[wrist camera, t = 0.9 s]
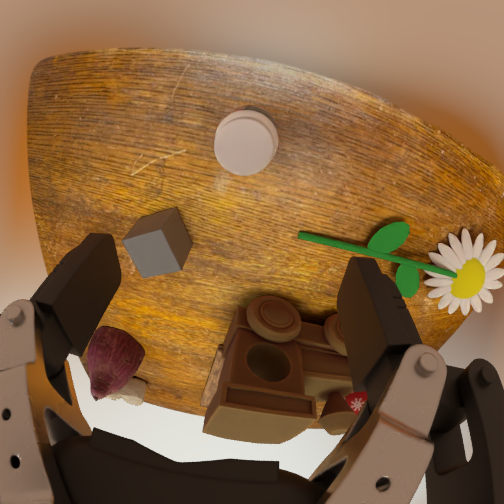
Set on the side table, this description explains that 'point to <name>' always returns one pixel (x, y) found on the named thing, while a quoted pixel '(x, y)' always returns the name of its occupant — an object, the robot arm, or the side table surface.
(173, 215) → the grey block
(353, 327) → the robot arm
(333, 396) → the wooden toy train
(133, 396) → the decorative stone
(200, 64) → the side table surface
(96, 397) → the vegetable
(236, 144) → the pill bottle
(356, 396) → the christmas ornament
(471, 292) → the decorative flower
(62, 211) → the side table surface
